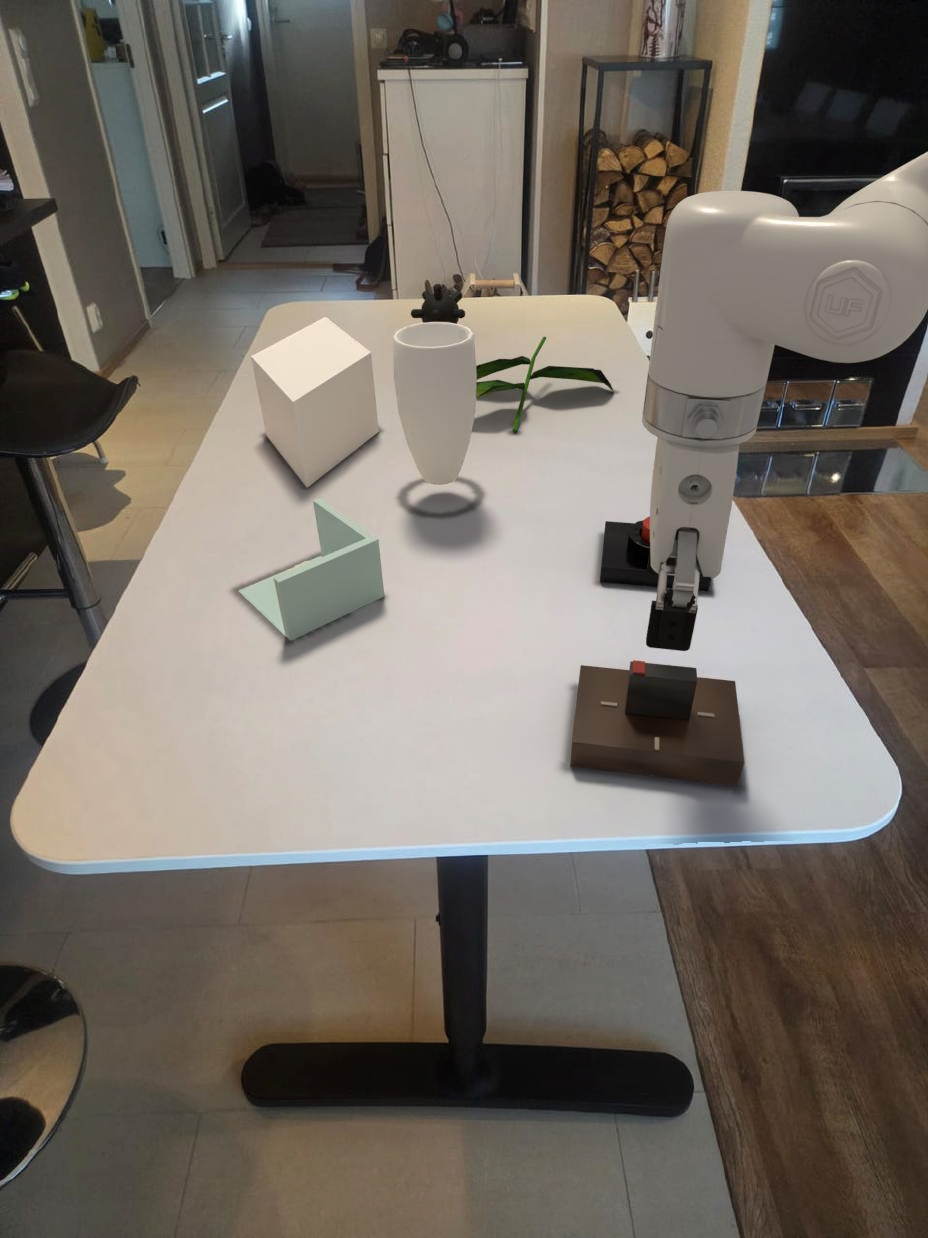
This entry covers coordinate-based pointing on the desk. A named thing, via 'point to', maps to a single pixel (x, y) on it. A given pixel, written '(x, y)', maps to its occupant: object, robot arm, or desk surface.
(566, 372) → the plant
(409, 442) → the cup
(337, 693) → the desk surface
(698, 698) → the panel
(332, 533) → the right angle wall
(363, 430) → the block
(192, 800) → the desk surface
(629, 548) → the button block
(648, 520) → the button
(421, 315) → the toy ball
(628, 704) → the handle
